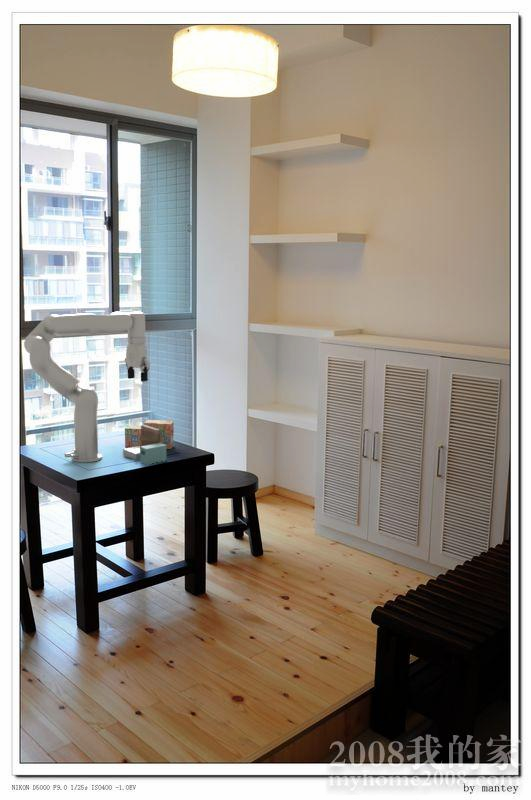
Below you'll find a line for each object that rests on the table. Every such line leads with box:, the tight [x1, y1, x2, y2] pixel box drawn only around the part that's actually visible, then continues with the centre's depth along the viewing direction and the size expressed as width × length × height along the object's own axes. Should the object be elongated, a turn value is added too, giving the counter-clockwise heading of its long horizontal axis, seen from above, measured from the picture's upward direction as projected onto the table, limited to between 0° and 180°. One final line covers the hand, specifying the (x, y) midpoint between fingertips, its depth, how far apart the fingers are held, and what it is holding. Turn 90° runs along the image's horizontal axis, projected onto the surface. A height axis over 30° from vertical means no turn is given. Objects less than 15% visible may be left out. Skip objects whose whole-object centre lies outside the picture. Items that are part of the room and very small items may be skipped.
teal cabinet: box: [139, 443, 167, 465], centre depth 318 cm, size 11×5×7 cm, turn 132°
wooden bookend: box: [122, 424, 160, 461], centre depth 327 cm, size 12×12×12 cm
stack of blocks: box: [124, 419, 175, 450], centre depth 341 cm, size 21×6×12 cm, turn 84°
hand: (137, 379), depth 327 cm, fingers open, 9 cm apart
